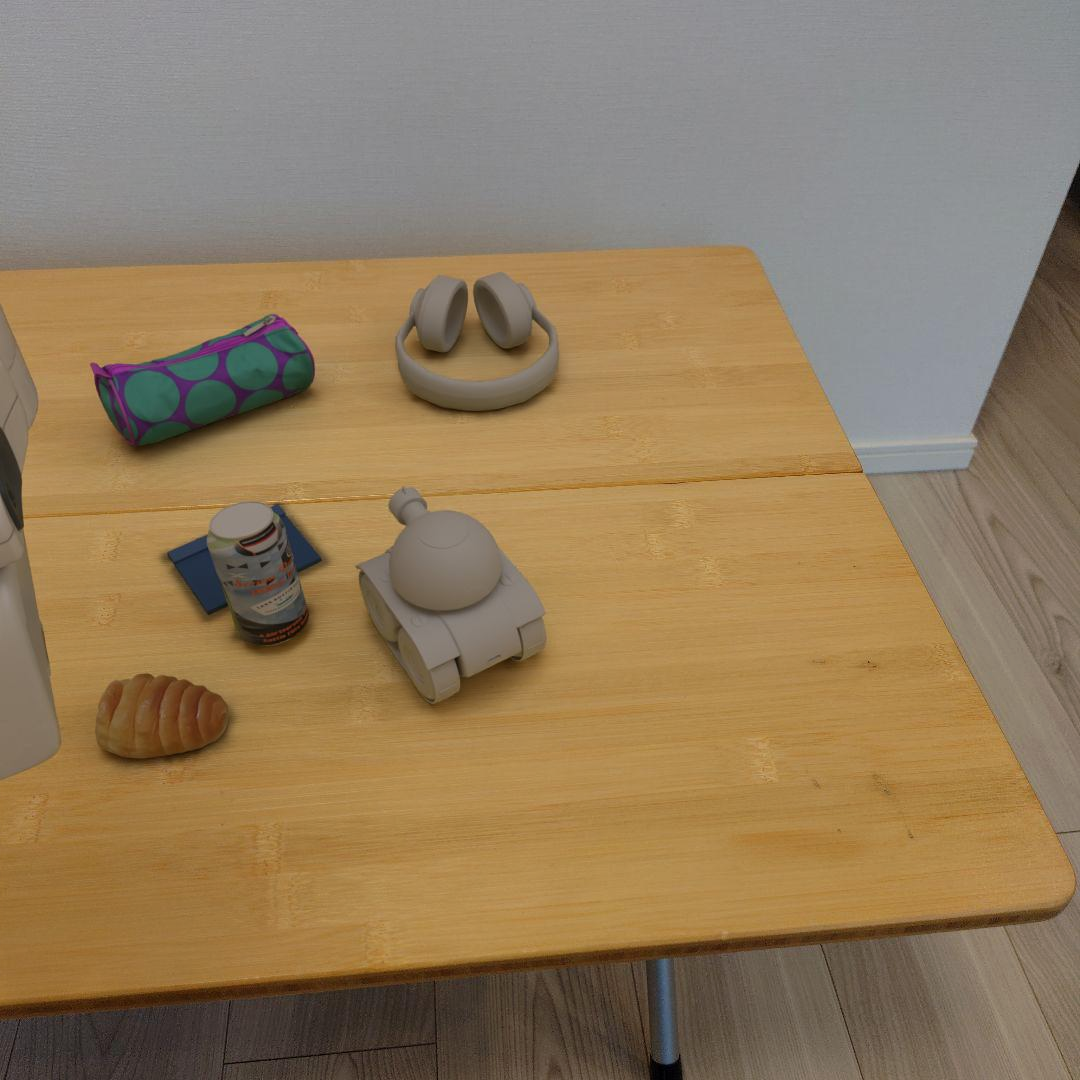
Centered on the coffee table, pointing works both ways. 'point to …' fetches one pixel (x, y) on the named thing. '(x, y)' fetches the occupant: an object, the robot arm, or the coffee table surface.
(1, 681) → the robot arm
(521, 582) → the toy tank
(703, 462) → the coffee table surface
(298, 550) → the book
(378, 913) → the coffee table surface
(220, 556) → the beverage can
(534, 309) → the headphones
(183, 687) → the pastry
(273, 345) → the pencil case
